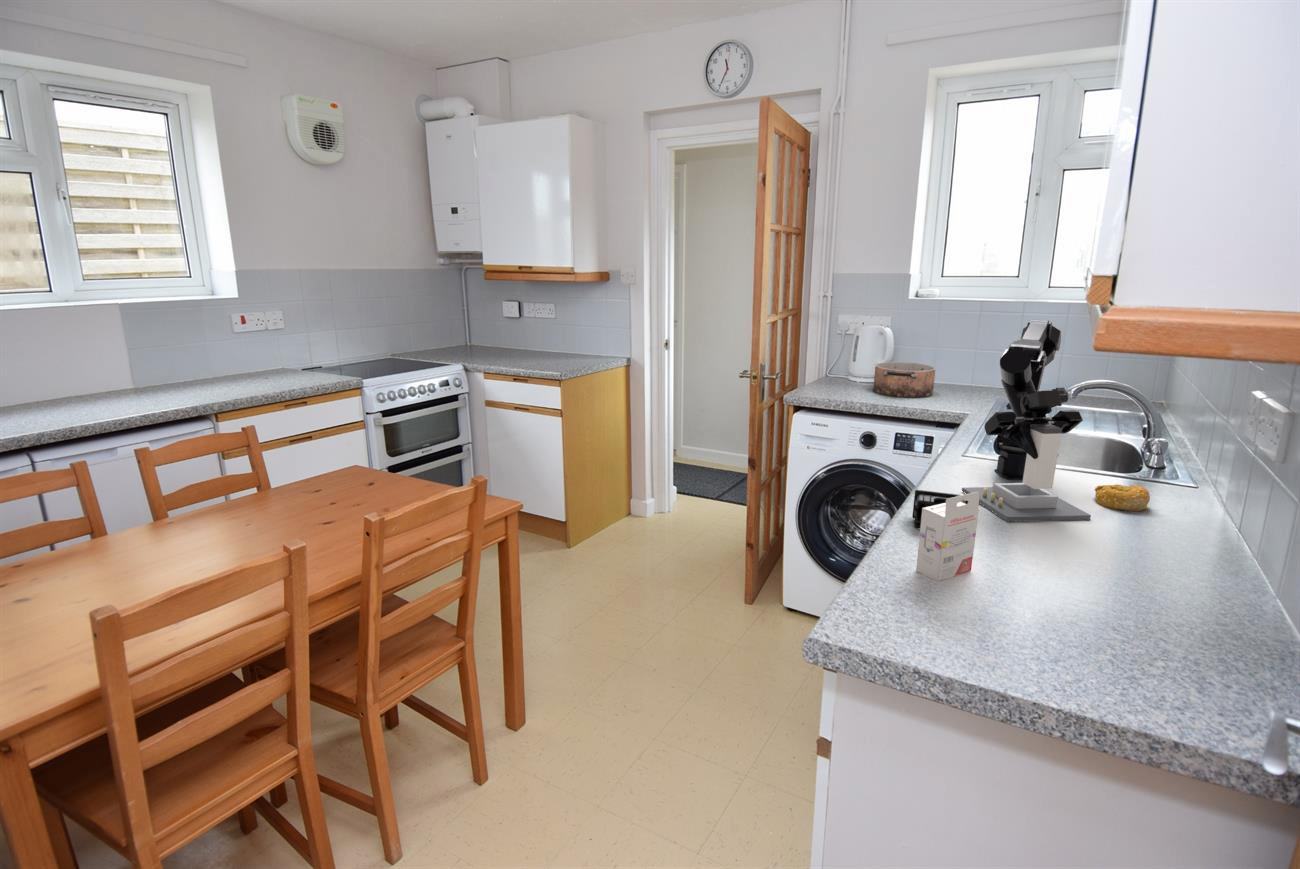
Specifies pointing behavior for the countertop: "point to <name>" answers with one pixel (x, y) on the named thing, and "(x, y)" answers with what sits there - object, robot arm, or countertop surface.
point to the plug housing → (1042, 456)
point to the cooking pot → (904, 379)
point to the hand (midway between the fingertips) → (1046, 457)
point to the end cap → (928, 502)
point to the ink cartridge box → (948, 537)
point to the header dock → (1025, 503)
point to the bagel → (1122, 497)
